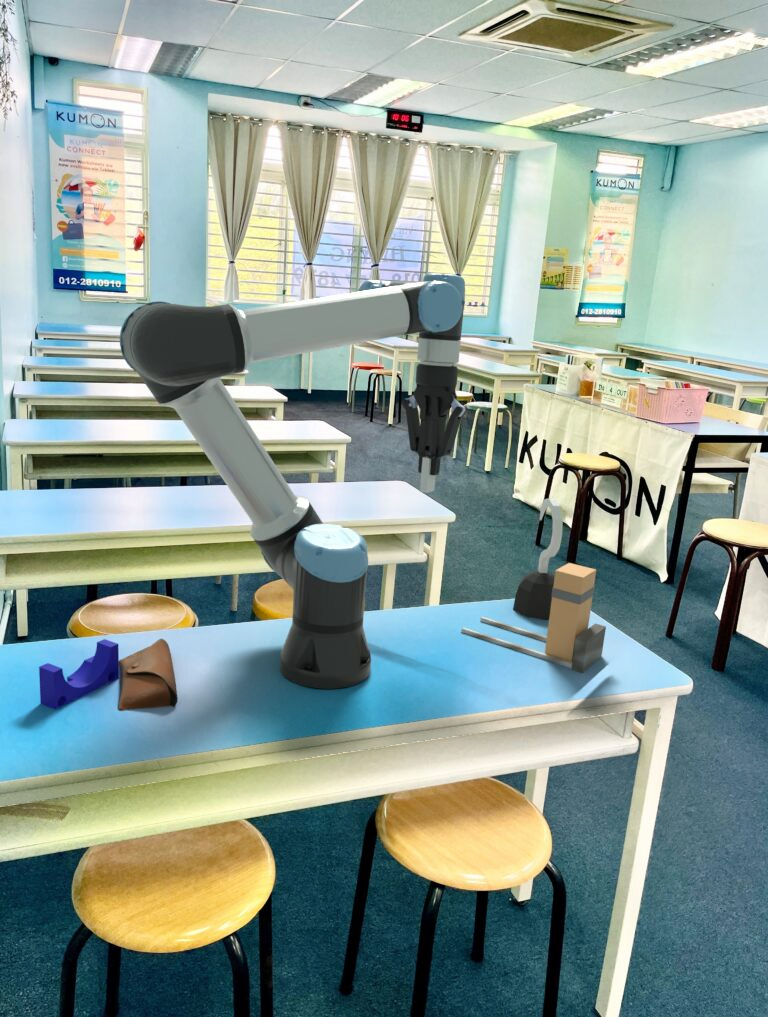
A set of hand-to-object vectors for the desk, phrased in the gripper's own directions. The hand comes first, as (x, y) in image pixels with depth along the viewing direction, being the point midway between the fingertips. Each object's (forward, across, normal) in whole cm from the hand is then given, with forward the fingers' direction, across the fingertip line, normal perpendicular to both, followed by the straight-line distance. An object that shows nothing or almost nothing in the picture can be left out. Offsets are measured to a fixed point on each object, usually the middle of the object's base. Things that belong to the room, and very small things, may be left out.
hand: (427, 491), depth 145 cm
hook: (+27, -16, -20) cm, 37 cm away
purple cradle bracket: (+27, +22, +59) cm, 69 cm away
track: (+26, -23, -3) cm, 35 cm away
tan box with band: (+25, -29, -3) cm, 39 cm away
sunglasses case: (+27, +17, +51) cm, 60 cm away
